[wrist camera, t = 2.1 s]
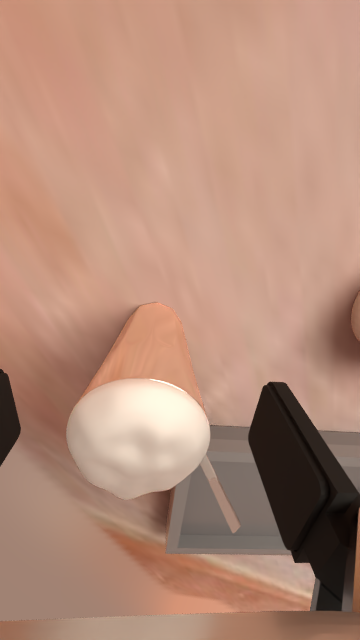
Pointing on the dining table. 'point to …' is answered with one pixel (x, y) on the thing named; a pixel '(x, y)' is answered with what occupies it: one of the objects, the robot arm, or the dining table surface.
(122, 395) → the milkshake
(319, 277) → the dining table surface
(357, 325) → the cream domed disc
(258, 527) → the grey tray
